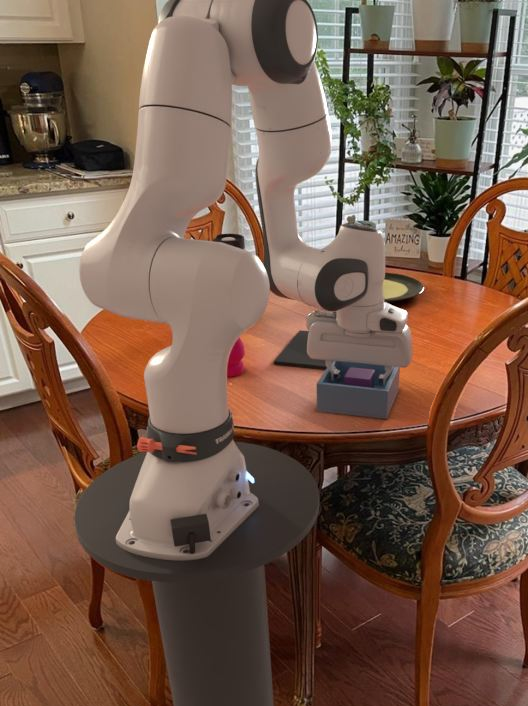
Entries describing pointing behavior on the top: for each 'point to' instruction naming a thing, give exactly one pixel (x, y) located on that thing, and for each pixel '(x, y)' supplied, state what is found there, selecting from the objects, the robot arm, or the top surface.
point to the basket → (357, 392)
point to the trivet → (299, 354)
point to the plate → (400, 287)
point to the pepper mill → (236, 359)
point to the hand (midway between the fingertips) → (359, 382)
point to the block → (360, 377)
